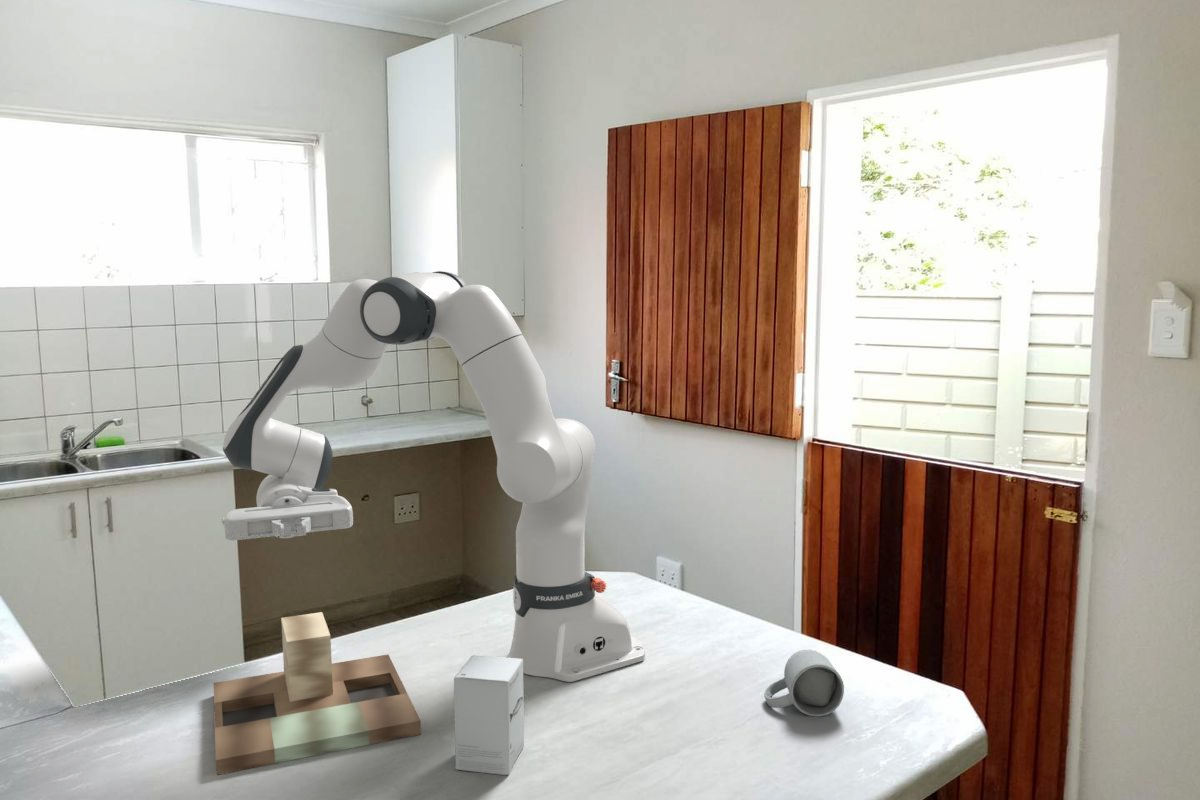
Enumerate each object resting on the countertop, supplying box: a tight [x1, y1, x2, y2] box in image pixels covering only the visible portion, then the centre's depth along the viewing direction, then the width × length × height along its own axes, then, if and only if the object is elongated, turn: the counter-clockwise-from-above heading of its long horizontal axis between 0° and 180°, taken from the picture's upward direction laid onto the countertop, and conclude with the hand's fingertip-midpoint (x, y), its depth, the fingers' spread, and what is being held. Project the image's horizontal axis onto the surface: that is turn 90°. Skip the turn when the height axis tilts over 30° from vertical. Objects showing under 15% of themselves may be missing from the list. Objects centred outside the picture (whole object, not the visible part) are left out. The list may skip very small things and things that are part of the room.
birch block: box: [280, 611, 333, 702], centre depth 137 cm, size 6×10×9 cm, turn 23°
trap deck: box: [213, 654, 422, 776], centre depth 133 cm, size 26×24×2 cm
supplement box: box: [453, 654, 525, 776], centre depth 120 cm, size 7×7×13 cm
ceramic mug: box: [764, 649, 845, 718], centre depth 135 cm, size 11×8×8 cm
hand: (293, 531), depth 147 cm, fingers closed
